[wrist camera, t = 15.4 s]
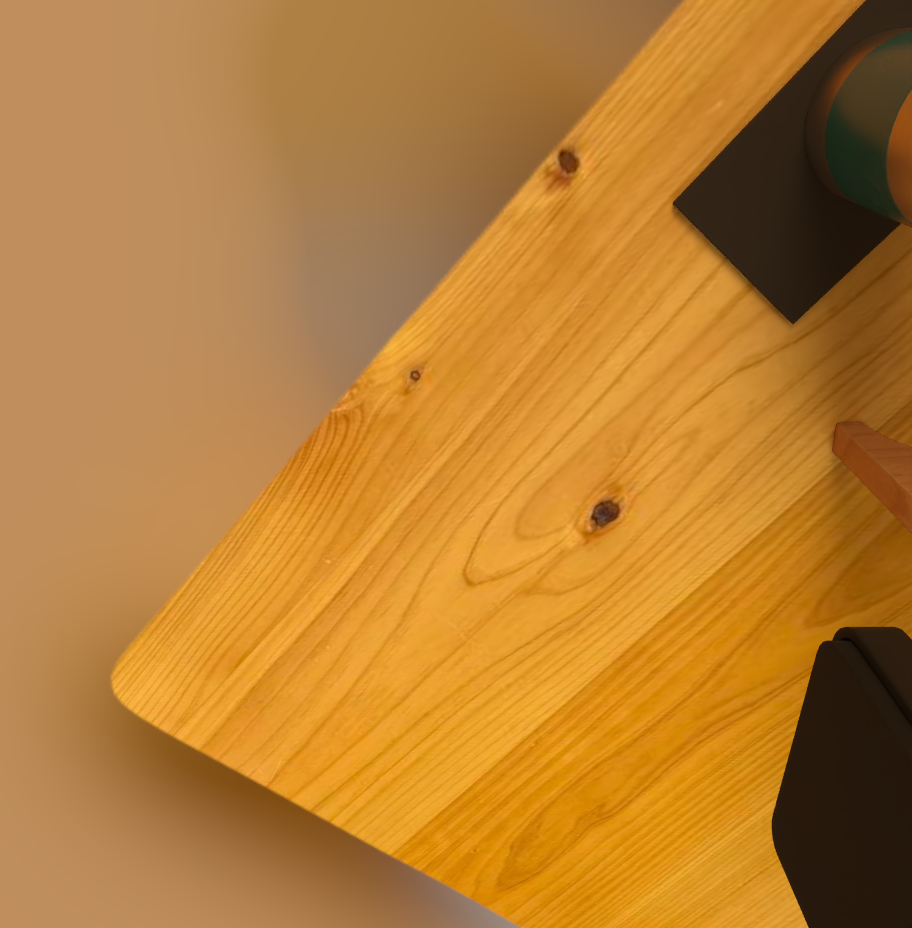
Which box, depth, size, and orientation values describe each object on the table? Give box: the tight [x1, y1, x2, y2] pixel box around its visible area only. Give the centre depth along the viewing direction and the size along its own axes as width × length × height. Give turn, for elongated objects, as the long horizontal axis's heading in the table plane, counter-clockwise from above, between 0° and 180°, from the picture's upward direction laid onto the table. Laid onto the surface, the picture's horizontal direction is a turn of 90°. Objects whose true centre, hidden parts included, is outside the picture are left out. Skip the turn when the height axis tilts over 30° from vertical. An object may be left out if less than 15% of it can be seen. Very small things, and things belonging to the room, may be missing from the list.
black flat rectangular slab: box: [673, 0, 912, 324], centre depth 35 cm, size 16×8×1 cm, turn 139°
